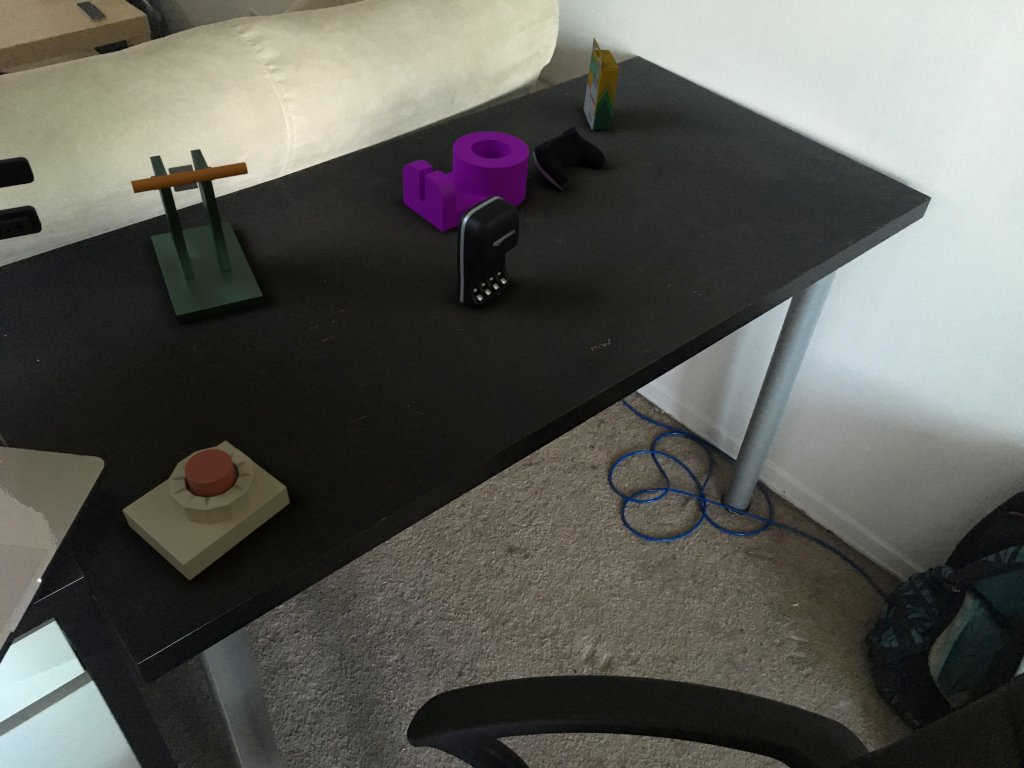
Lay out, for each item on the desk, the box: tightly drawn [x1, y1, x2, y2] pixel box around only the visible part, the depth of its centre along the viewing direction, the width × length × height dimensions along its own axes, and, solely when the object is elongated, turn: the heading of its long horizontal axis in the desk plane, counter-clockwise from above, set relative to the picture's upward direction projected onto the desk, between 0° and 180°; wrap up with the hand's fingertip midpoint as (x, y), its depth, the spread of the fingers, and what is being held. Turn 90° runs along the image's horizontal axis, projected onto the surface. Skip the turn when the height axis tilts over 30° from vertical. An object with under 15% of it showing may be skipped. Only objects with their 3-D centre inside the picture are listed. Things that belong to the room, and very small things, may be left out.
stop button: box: [185, 448, 236, 497], centre depth 63 cm, size 4×4×2 cm
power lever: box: [130, 161, 249, 194], centre depth 77 cm, size 13×10×2 cm
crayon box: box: [583, 37, 620, 131], centre depth 121 cm, size 7×3×12 cm, turn 7°
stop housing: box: [122, 440, 291, 581], centre depth 64 cm, size 10×8×4 cm
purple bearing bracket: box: [402, 130, 530, 233], centre depth 103 cm, size 16×10×6 cm, turn 131°
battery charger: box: [456, 196, 520, 309], centre depth 86 cm, size 7×4×11 cm, turn 142°
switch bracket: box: [149, 148, 265, 325], centre depth 85 cm, size 16×9×14 cm, turn 27°
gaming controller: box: [532, 125, 606, 191], centre depth 111 cm, size 11×4×7 cm
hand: (34, 192), depth 67 cm, fingers open, 8 cm apart
